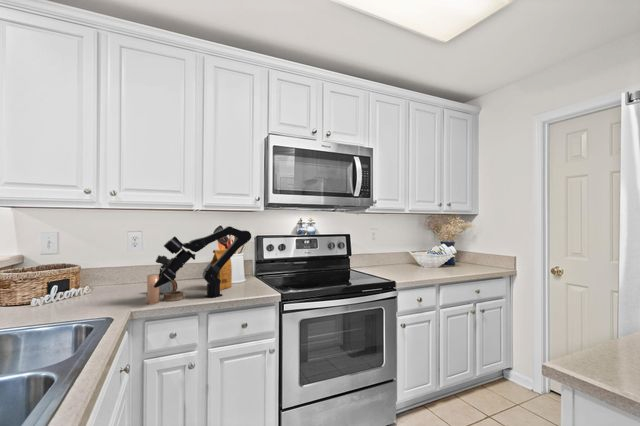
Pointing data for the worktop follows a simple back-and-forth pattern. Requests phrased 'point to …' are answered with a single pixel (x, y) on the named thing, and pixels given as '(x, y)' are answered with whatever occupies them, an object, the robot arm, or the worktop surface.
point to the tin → (168, 287)
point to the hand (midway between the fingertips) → (153, 285)
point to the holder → (173, 296)
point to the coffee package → (223, 270)
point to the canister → (152, 289)
